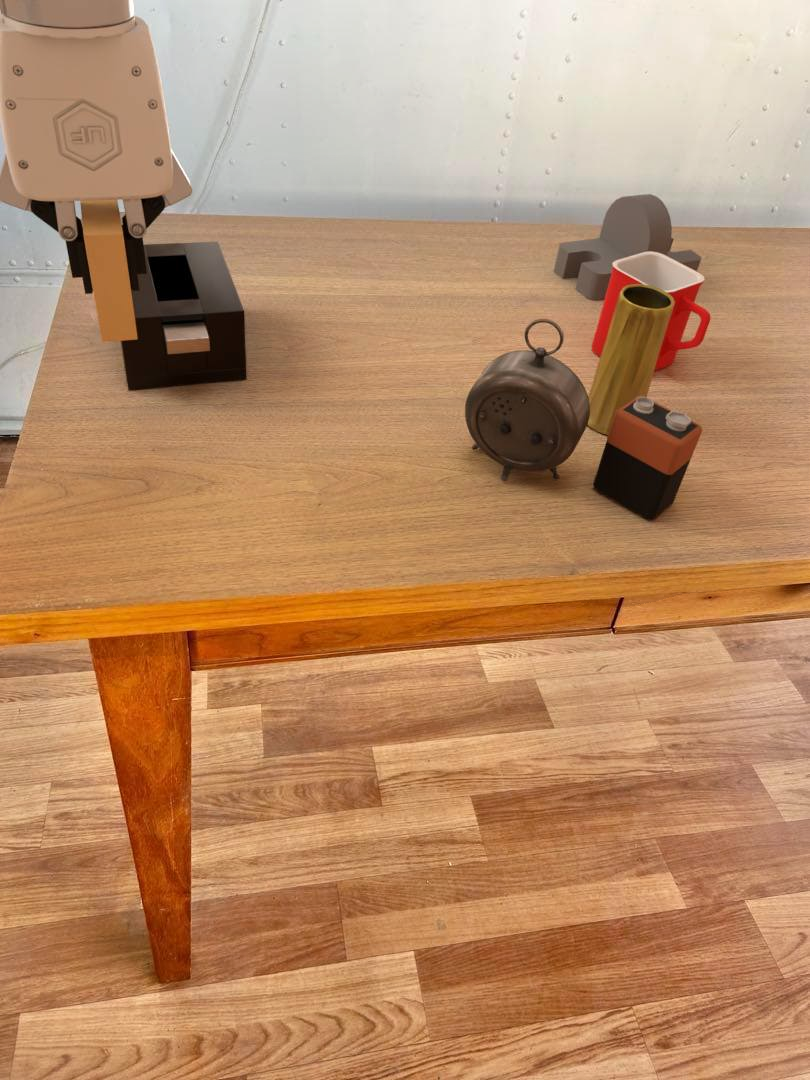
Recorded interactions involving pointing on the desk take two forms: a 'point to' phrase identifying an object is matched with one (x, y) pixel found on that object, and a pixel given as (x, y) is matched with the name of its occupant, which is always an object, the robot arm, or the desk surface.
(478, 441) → the alarm clock
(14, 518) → the desk surface
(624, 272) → the mug
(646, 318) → the vase
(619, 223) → the bracket
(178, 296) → the toaster
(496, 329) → the desk surface
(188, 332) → the lever
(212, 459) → the desk surface
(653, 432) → the battery
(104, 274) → the toast
